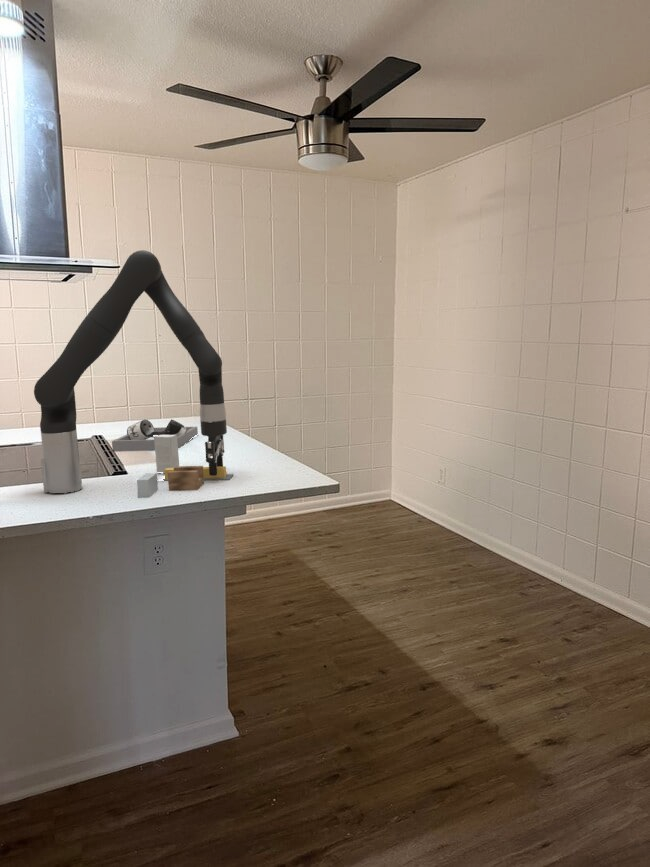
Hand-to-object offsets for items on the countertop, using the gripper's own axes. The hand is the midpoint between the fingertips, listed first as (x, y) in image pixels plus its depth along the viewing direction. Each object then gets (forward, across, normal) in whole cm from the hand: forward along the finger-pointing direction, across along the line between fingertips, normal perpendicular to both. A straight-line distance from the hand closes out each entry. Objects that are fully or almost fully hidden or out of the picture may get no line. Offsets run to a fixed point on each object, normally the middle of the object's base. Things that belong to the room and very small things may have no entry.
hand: (216, 471), depth 179 cm
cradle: (+2, +10, -6) cm, 12 cm away
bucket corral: (+2, -65, -38) cm, 76 cm away
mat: (+2, 0, -6) cm, 7 cm away
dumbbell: (+2, -65, -39) cm, 75 cm away
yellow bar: (+1, 0, -6) cm, 7 cm away
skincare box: (+2, -9, -18) cm, 20 cm away
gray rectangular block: (+2, +17, -15) cm, 23 cm away
